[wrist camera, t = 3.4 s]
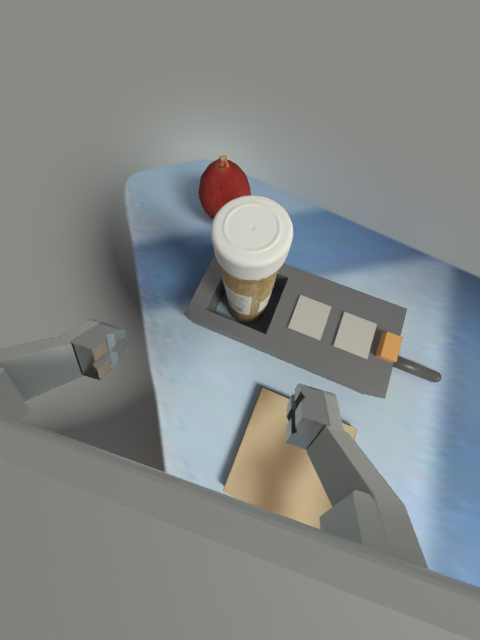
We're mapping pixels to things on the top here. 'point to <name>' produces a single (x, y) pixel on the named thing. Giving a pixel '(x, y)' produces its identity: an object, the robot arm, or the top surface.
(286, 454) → the wooden mat
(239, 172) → the onion
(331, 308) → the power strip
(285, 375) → the top surface
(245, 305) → the sprinkles bottle
